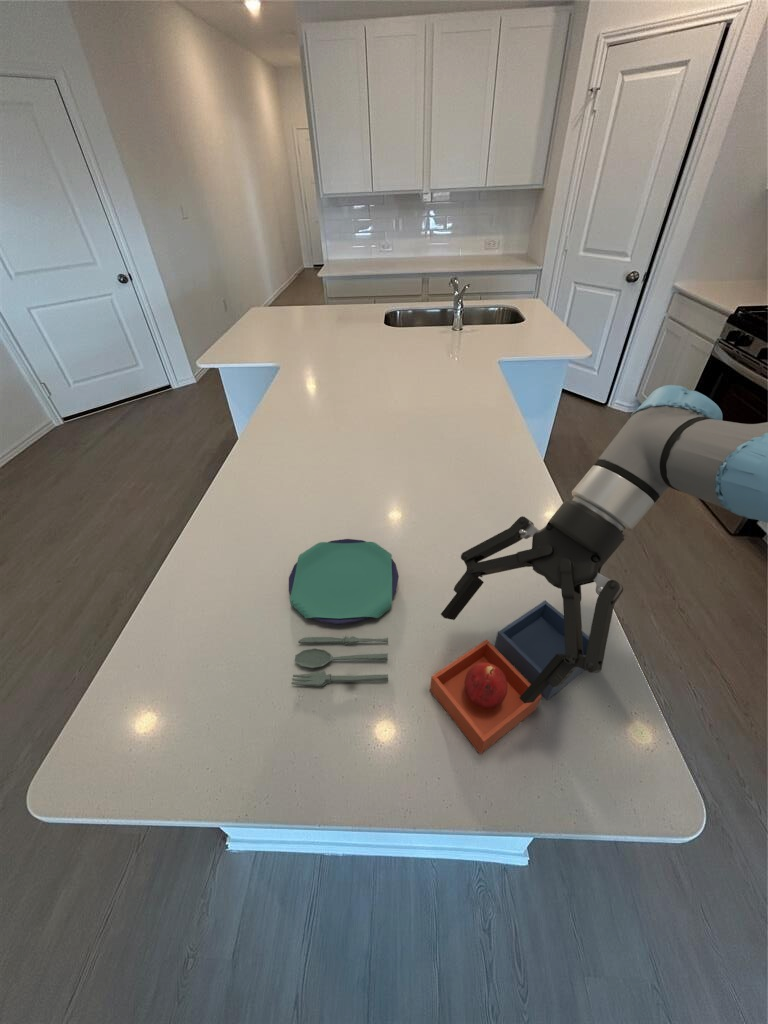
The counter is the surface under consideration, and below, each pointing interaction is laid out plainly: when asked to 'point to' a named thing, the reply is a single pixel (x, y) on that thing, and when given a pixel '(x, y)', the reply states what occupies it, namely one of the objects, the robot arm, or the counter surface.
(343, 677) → the cutlery set
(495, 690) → the red rounded oval piece
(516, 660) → the blue bin
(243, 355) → the counter surface
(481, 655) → the terracotta bin
